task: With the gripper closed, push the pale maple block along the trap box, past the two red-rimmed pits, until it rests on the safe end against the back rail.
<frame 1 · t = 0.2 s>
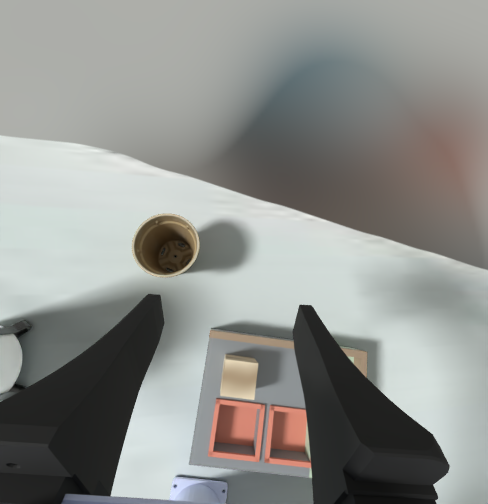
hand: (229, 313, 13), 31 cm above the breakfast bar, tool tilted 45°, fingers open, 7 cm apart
flower pot: (176, 257, 45), on the breakfast bar
trap box: (276, 396, 41), on the breakfast bar
maple block: (237, 371, 38), point 3 cm above the breakfast bar, touching trap box
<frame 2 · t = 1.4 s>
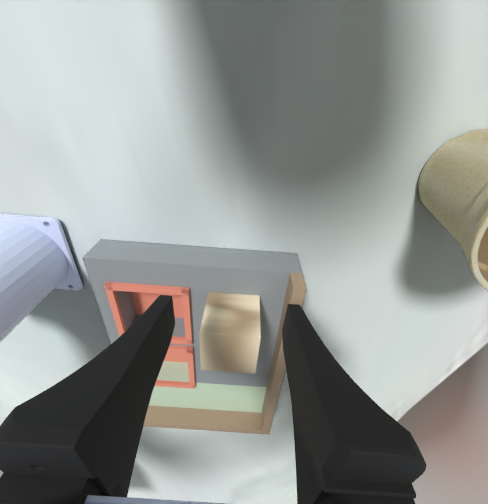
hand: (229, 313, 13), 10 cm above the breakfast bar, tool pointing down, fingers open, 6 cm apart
flower pot: (458, 174, 20), on the breakfast bar
trap box: (202, 333, 30), on the breakfast bar
maple block: (232, 312, 24), point 3 cm above the breakfast bar, touching trap box
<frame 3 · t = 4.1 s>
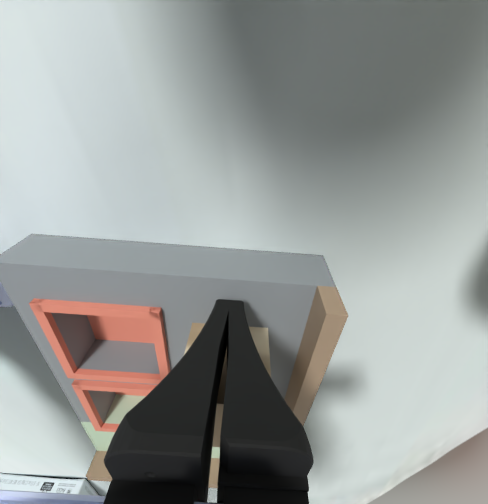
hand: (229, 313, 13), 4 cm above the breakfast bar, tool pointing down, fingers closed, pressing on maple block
trap box: (187, 362, 22), on the breakfast bar
maple block: (228, 349, 16), point 3 cm above the breakfast bar, touching gripper
tea box: (49, 483, 41), on the breakfast bar
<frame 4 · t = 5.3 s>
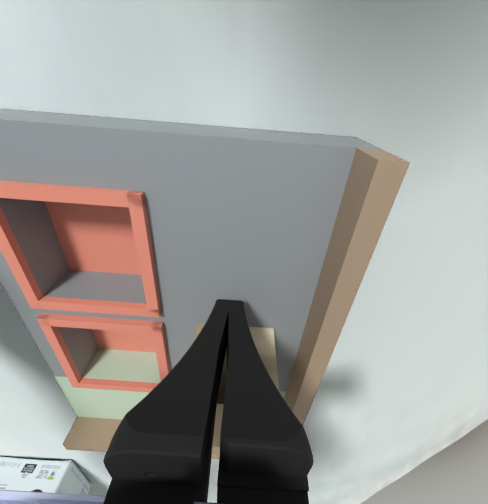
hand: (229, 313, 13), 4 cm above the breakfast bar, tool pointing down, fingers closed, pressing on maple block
trap box: (182, 305, 19), on the breakfast bar
maple block: (233, 349, 16), point 3 cm above the breakfast bar, touching gripper
tea box: (33, 466, 37), on the breakfast bar
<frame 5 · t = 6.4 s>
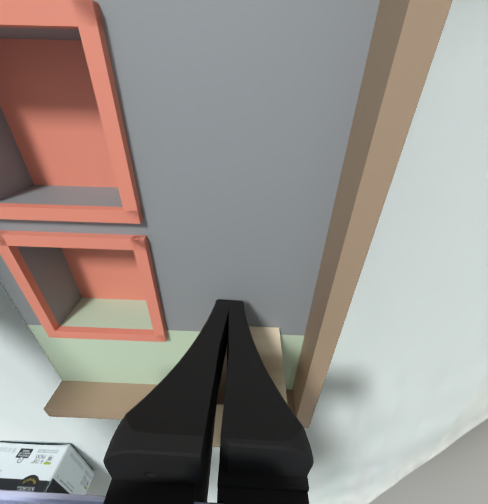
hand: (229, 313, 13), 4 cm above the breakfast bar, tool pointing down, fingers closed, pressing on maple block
trap box: (175, 234, 15), on the breakfast bar
maple block: (240, 349, 16), point 3 cm above the breakfast bar, touching gripper
tea box: (31, 453, 35), on the breakfast bar
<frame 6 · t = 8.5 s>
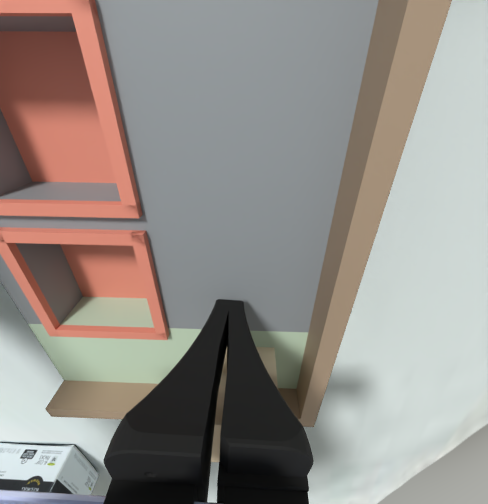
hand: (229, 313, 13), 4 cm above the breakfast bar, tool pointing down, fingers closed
trap box: (176, 231, 15), on the breakfast bar
maple block: (238, 367, 17), point 3 cm above the breakfast bar, touching trap box
tea box: (36, 454, 35), on the breakfast bar
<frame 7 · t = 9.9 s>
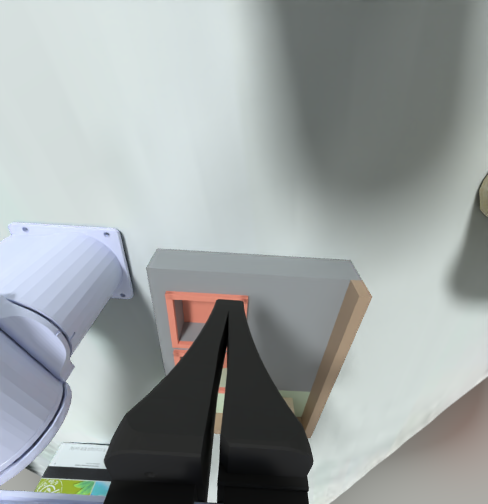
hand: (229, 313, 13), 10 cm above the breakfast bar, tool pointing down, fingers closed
trap box: (246, 339, 30), on the breakfast bar
tea box: (109, 452, 49), on the breakfast bar
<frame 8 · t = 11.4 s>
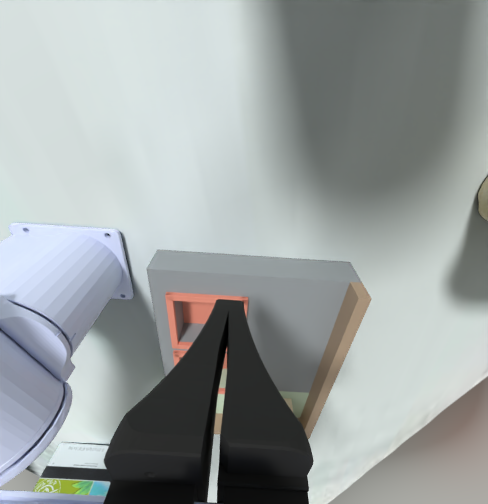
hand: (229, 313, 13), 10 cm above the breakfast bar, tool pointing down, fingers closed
trap box: (245, 340, 30), on the breakfast bar
tea box: (107, 452, 49), on the breakfast bar
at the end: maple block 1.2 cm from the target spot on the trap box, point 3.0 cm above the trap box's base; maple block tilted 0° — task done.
